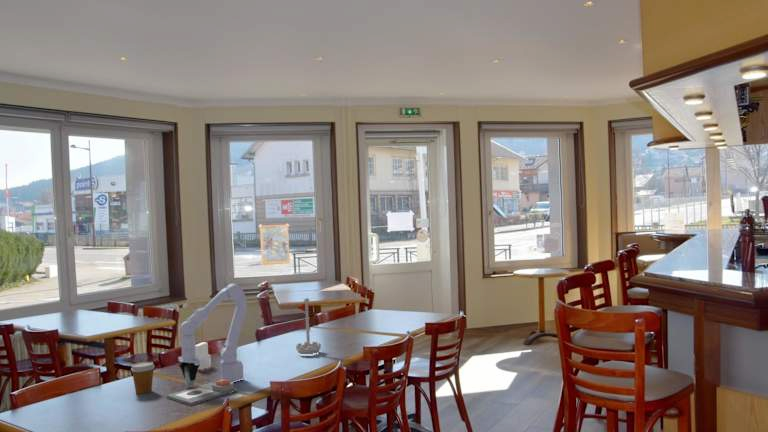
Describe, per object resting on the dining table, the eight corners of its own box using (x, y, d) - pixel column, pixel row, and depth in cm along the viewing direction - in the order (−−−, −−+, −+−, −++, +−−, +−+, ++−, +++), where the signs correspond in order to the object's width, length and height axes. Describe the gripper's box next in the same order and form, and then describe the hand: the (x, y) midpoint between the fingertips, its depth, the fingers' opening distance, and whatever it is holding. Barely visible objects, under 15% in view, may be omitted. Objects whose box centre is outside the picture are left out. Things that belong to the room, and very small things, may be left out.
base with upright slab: (205, 370, 285) (204, 346, 285) (188, 370, 287) (187, 346, 287) (214, 366, 294) (213, 342, 294) (197, 365, 296) (197, 342, 296)
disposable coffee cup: (132, 390, 256) (131, 363, 256) (155, 387, 260) (154, 360, 260) (131, 396, 248) (130, 368, 248) (155, 393, 251) (154, 365, 251)
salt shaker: (191, 382, 260) (190, 364, 260) (196, 383, 258) (195, 365, 258) (183, 384, 257) (182, 366, 257) (188, 386, 255) (187, 367, 255)
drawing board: (212, 384, 261) (212, 377, 261) (236, 391, 249) (236, 383, 249) (166, 398, 244) (166, 389, 244) (190, 405, 232) (190, 397, 232)
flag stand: (323, 351, 317) (321, 295, 316) (318, 357, 304) (315, 299, 304) (299, 351, 318) (297, 296, 318) (293, 357, 305) (291, 300, 305)
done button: (224, 384, 251) (224, 378, 251) (229, 386, 249) (229, 379, 249) (216, 387, 248) (216, 380, 248) (221, 388, 246) (221, 382, 246)
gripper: (171, 348, 259) (172, 379, 259) (189, 352, 250) (190, 384, 250) (185, 345, 264) (187, 375, 265) (203, 349, 255) (205, 380, 255)
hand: (189, 379), depth 258 cm, fingers closed on salt shaker, 4 cm apart
